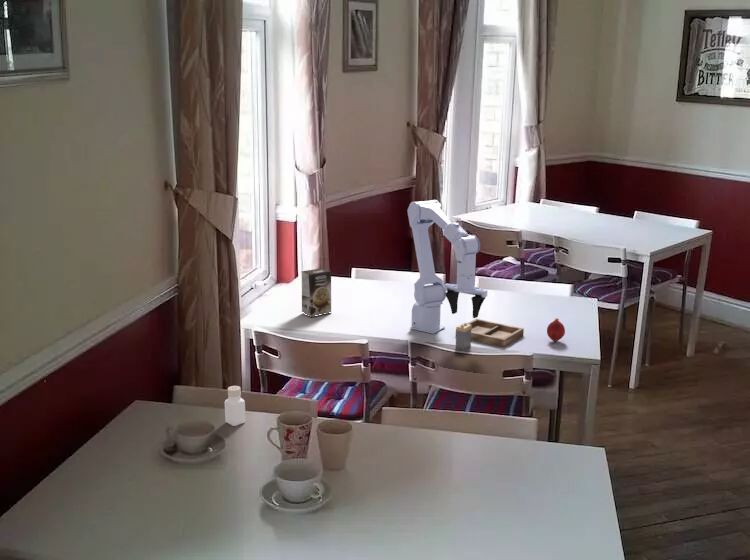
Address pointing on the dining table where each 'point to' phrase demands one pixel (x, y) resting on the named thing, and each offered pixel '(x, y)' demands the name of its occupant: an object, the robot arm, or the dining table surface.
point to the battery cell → (463, 336)
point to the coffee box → (316, 291)
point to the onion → (555, 330)
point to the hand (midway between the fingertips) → (464, 315)
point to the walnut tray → (494, 332)
